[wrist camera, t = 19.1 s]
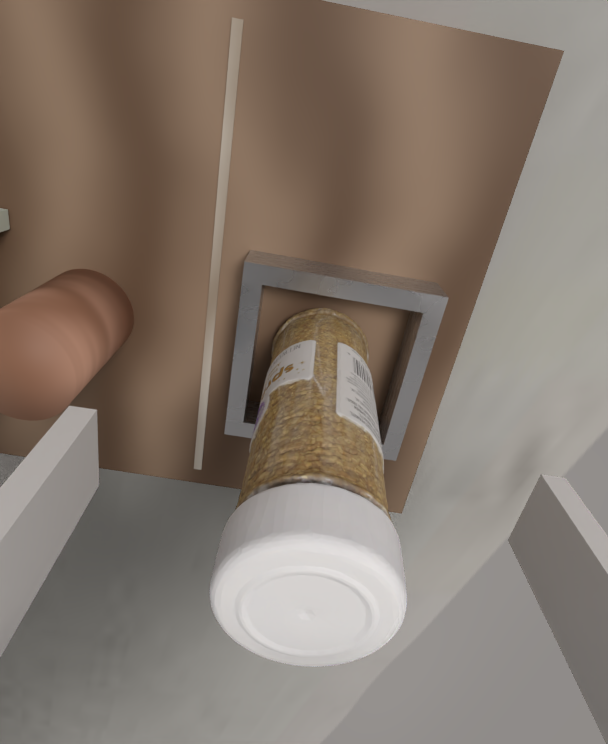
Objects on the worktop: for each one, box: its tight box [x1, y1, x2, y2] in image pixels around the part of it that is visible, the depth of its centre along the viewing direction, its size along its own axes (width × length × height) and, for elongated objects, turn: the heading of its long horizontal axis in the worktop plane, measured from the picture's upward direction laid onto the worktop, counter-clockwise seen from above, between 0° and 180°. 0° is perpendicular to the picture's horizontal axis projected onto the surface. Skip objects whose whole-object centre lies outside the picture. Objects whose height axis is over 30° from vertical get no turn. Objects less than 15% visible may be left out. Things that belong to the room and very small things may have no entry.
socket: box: [224, 250, 449, 461], centre depth 22 cm, size 8×8×2 cm
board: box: [0, 0, 564, 513], centre depth 19 cm, size 31×22×8 cm
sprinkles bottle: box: [209, 308, 407, 667], centre depth 17 cm, size 5×5×14 cm
